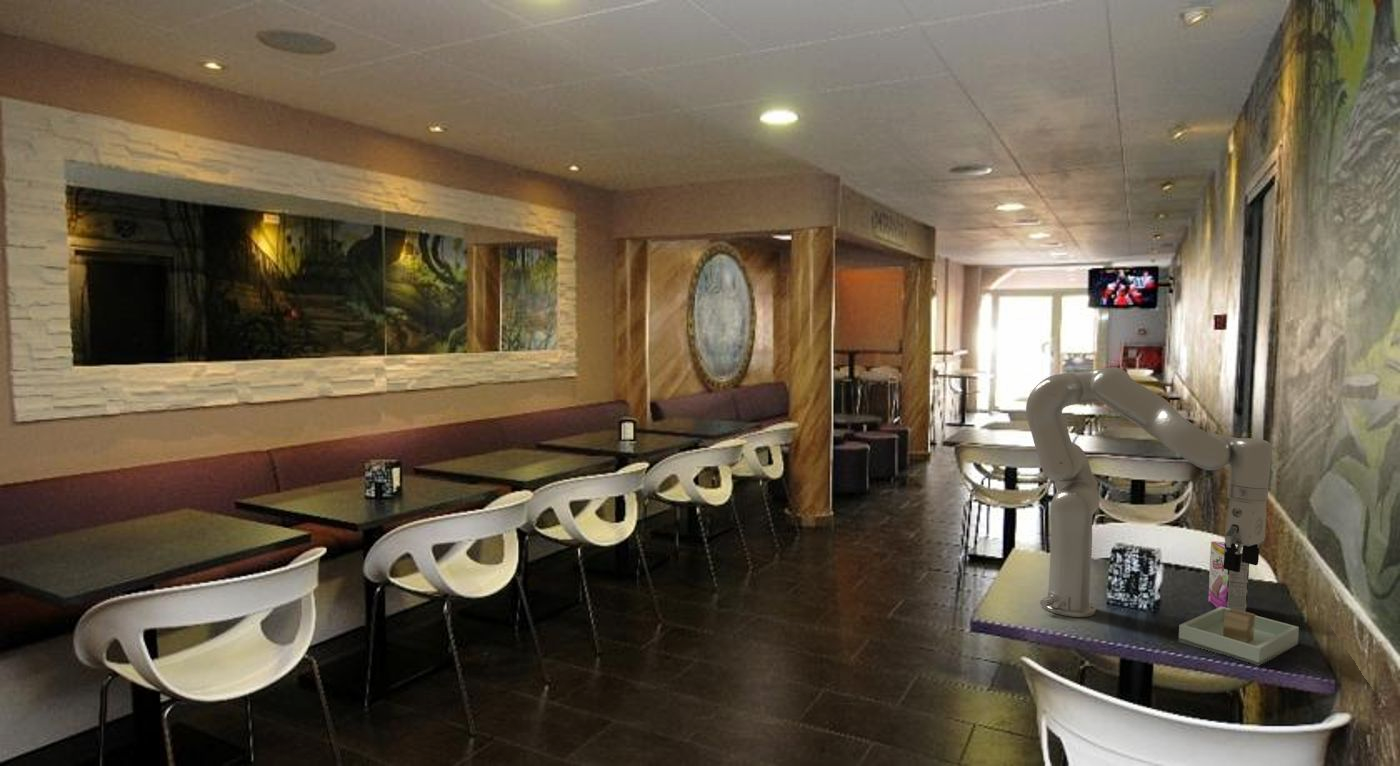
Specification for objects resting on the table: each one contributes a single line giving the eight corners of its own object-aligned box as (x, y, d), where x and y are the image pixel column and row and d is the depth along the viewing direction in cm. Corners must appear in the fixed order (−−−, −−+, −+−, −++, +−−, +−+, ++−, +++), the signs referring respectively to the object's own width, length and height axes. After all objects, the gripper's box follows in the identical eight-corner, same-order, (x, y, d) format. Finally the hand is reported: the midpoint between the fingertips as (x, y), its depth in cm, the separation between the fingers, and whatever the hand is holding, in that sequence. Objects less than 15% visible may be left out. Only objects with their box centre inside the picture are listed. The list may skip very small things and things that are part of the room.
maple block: (1245, 644, 180) (1246, 618, 179) (1222, 637, 183) (1224, 612, 183) (1253, 639, 182) (1255, 614, 182) (1231, 633, 186) (1233, 608, 185)
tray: (1258, 666, 170) (1259, 648, 170) (1178, 641, 183) (1179, 624, 183) (1297, 644, 183) (1298, 627, 182) (1220, 622, 196) (1221, 606, 195)
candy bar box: (1206, 601, 210) (1209, 540, 209) (1227, 603, 209) (1231, 542, 208) (1224, 616, 199) (1229, 552, 198) (1247, 618, 198) (1251, 554, 197)
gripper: (1250, 500, 172) (1243, 578, 174) (1281, 492, 182) (1274, 565, 184) (1212, 493, 178) (1205, 568, 180) (1244, 486, 188) (1238, 556, 190)
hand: (1240, 566), depth 182 cm, fingers open, 9 cm apart
